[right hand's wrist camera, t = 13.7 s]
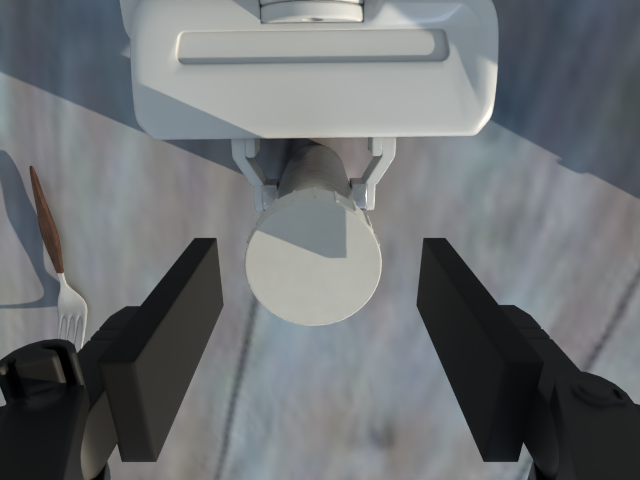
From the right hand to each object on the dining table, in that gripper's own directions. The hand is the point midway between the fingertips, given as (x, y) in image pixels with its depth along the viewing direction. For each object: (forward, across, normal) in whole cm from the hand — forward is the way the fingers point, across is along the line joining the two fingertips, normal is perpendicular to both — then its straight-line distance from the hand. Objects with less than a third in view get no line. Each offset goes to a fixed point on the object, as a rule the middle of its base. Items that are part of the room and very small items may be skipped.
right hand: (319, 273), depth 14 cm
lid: (+1, 0, 0) cm, 1 cm away
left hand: (+12, 0, -1) cm, 12 cm away
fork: (+18, -22, -8) cm, 30 cm away
